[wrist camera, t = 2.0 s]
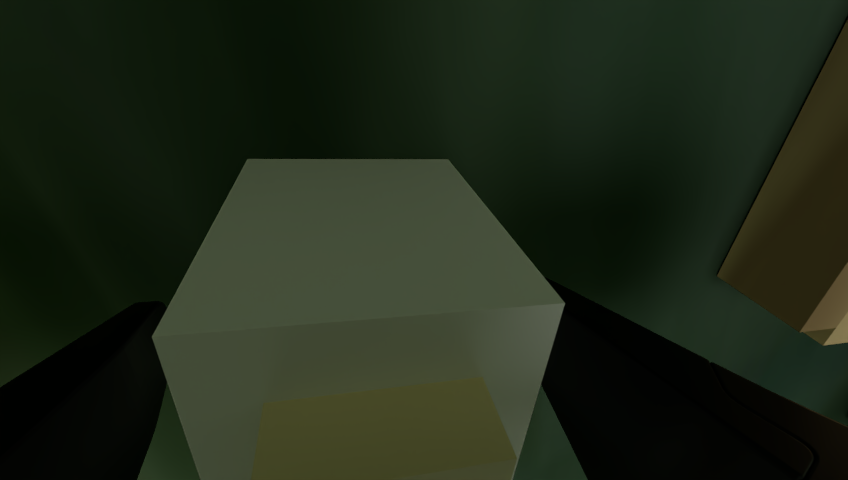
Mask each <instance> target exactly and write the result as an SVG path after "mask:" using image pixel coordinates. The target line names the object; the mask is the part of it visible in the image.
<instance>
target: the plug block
mask: <svg viewBox="0 0 848 480" xmlns="http://www.w3.org/2000/svg"><path fill="white" fill-rule="evenodd" d="M564 305H565V302H564V301H563V300H562V299H561V297H560V296H559V295H558V294H557V293H556V291H555V290H554V289H553V288H552V286H551V285H550V284H549V283H548V281H547V280H546V279H545V278H544V277H543V275H542V274H541V273H540V272H539V270H538V269H537V268H536V267H535V265H534V264H533V263H532V262H531V261H530V259H529V258H528V257H527V256H526V254H525V253H524V252H523V251H522V249H521V248H520V247H519V246H518V245H517V243H516V242H515V241H514V240H513V238H512V237H511V236H510V235H509V234H508V232H507V231H506V230H505V229H504V227H503V226H502V225H501V224H500V222H499V221H498V220H497V219H496V218H495V216H494V215H493V214H492V213H491V211H490V210H489V209H488V208H487V206H486V205H485V204H484V203H483V202H482V200H481V199H480V198H479V197H478V195H477V194H476V193H475V192H474V190H473V189H472V188H471V187H470V186H469V184H468V183H467V182H466V181H465V179H464V178H463V177H462V176H461V174H460V173H459V172H458V171H457V170H456V168H455V167H454V166H453V165H452V163H451V162H450V161H449V160H448V159H247V161H246V163H245V164H244V166H243V168H242V170H241V172H240V174H239V176H238V177H237V179H236V181H235V183H234V185H233V187H232V189H231V190H230V192H229V194H228V196H227V198H226V200H225V202H224V203H223V205H222V207H221V209H220V211H219V213H218V215H217V217H216V218H215V220H214V222H213V224H212V226H211V228H210V230H209V231H208V233H207V235H206V237H205V239H204V241H203V243H202V244H201V246H200V248H199V250H198V252H197V254H196V256H195V257H194V259H193V261H192V263H191V265H190V267H189V269H188V271H187V272H186V274H185V276H184V278H183V280H182V282H181V284H180V285H179V287H178V289H177V291H176V293H175V295H174V297H173V298H172V300H171V302H170V304H169V306H168V308H167V310H166V311H165V313H164V315H163V317H162V319H161V321H160V323H159V324H158V326H157V328H156V330H155V332H154V334H153V336H152V339H153V342H154V345H155V348H156V351H157V354H158V357H159V360H160V363H161V366H162V368H163V371H164V374H165V377H166V380H167V383H168V386H169V389H170V392H171V395H172V398H173V401H174V404H175V407H176V410H177V412H178V415H179V418H180V421H181V424H182V427H183V430H184V433H185V436H186V439H187V442H188V445H189V448H190V451H191V454H192V456H193V459H194V462H195V465H196V468H197V471H198V474H199V477H200V480H513V476H514V473H515V470H516V466H517V463H518V460H519V456H520V453H521V449H522V446H523V443H524V439H525V436H526V433H527V429H528V426H529V423H530V419H531V416H532V413H533V409H534V406H535V403H536V399H537V396H538V392H539V389H540V386H541V382H542V379H543V376H544V372H545V369H546V366H547V362H548V359H549V356H550V352H551V349H552V346H553V342H554V339H555V335H556V332H557V329H558V325H559V322H560V319H561V315H562V312H563V309H564Z"/></svg>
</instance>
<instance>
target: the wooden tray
mask: <svg viewBox="0 0 848 480" xmlns="http://www.w3.org/2000/svg"><path fill="white" fill-rule="evenodd" d="M717 276H718V277H719V278H721V279H722V280H723V281H725V282H726V283H728V284H729V285H731V286H732V287H734V288H735V289H737V290H738V291H740V292H741V293H743V294H744V295H746V296H747V297H748V298H750V299H751V300H753V301H754V302H756V303H757V304H759V305H760V306H762V307H763V308H765V309H766V310H768V311H769V312H770V313H772V314H773V315H775V316H776V317H778V318H779V319H781V320H782V321H784V322H785V323H787V324H788V325H790V326H791V327H792V328H794V329H795V330H797V331H798V332H804V333H805V334H807V335H808V336H810V337H811V338H813V339H814V340H815V341H817V342H818V343H820V344H821V345H823V346H824V345H832V344H840V343H847V342H848V20H847V22H846V23H845V25H844V27H843V29H842V31H841V33H840V35H839V37H838V39H837V41H836V43H835V45H834V47H833V49H832V51H831V53H830V55H829V57H828V59H827V61H826V63H825V65H824V67H823V69H822V71H821V73H820V75H819V77H818V78H817V80H816V82H815V84H814V86H813V88H812V90H811V92H810V94H809V96H808V98H807V100H806V102H805V104H804V106H803V108H802V110H801V112H800V114H799V116H798V118H797V120H796V122H795V124H794V126H793V128H792V130H791V132H790V133H789V135H788V137H787V139H786V141H785V143H784V145H783V147H782V149H781V151H780V153H779V155H778V157H777V159H776V161H775V163H774V165H773V167H772V169H771V171H770V173H769V175H768V177H767V179H766V181H765V183H764V185H763V187H762V188H761V190H760V192H759V194H758V196H757V198H756V200H755V202H754V204H753V206H752V208H751V210H750V212H749V214H748V216H747V218H746V220H745V222H744V224H743V226H742V228H741V230H740V232H739V234H738V236H737V238H736V240H735V242H734V243H733V245H732V247H731V249H730V251H729V253H728V255H727V257H726V259H725V261H724V263H723V265H722V267H721V269H720V271H719V273H718V275H717Z"/></svg>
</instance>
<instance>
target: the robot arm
mask: <svg viewBox="0 0 848 480" xmlns="http://www.w3.org/2000/svg"><path fill="white" fill-rule="evenodd" d="M543 277H544V276H543ZM544 278H545V279H546V280H547V281H548V283H549V284H550V285H551V286H552V288H553V289H554V290H555V291H556V293H557V294H558V295H559V296H560V297H561V299H562V300H563V301H564V302H565V305H564V309H563V312H562V315H561V319H560V322H559V325H558V329H557V332H556V335H555V339H554V342H553V346H552V349H551V352H550V356H549V359H548V362H547V366H546V369H545V372H544V376H543V379H542V382H541V384H542V387H543V389H544V391H545V393H546V395H547V397H548V399H549V401H550V403H551V405H552V407H553V409H554V411H555V413H556V415H557V418H558V420H559V422H560V424H561V426H562V428H563V430H564V432H565V434H566V436H567V438H568V440H569V442H570V444H571V446H572V448H573V450H574V452H575V454H576V456H577V458H578V460H579V463H580V465H581V467H582V469H583V471H584V473H585V475H586V477H587V479H588V480H848V426H845V425H843V424H841V423H839V422H837V421H834V420H832V419H830V418H828V417H826V416H823V415H821V414H819V413H817V412H815V411H812V410H810V409H808V408H806V407H804V406H802V405H799V404H797V403H795V402H793V401H791V400H789V399H786V398H784V397H782V396H780V395H778V394H776V393H773V392H771V391H769V390H767V389H765V388H763V387H761V386H759V385H757V384H755V383H753V382H751V381H749V380H747V379H745V378H743V377H741V376H739V375H737V374H735V373H733V372H731V371H729V370H727V369H725V368H723V367H721V366H719V365H717V364H715V363H713V362H711V363H709V361H708V360H707V359H705V358H703V357H701V356H699V355H697V354H695V353H693V352H691V351H689V350H688V349H686V348H684V347H682V346H680V345H678V344H676V343H674V342H672V341H670V340H668V339H666V338H664V337H662V336H660V335H658V334H656V333H654V332H652V331H650V330H648V329H646V328H644V327H642V326H640V325H638V324H636V323H634V322H632V321H630V320H629V319H627V318H625V317H623V316H621V315H619V314H617V313H615V312H613V311H611V310H609V309H607V308H605V307H603V306H601V305H599V304H597V303H595V302H593V301H591V300H589V299H587V298H585V297H583V296H581V295H579V294H577V293H575V292H574V291H572V290H570V289H568V288H566V287H564V286H562V285H560V284H558V283H556V282H554V281H552V280H550V279H548V278H546V277H544ZM166 310H167V308H166V306H165V305H164V303H162V302H160V301H151V302H138V303H135V304H133V305H131V306H129V307H128V308H126V309H125V310H123V311H121V312H120V313H118V314H117V315H115V316H113V317H112V318H110V319H109V320H107V321H105V322H104V323H102V324H101V325H99V326H97V327H96V328H94V329H93V330H91V331H90V332H88V333H86V334H85V335H83V336H82V337H80V338H78V339H77V340H75V341H74V342H72V343H70V344H69V345H67V346H66V347H64V348H62V349H61V350H59V351H58V352H56V353H54V354H53V355H51V356H50V357H48V358H46V359H45V360H43V361H42V362H40V363H38V364H37V365H35V366H34V367H32V368H30V369H29V370H27V371H26V372H24V373H22V374H21V375H19V376H18V377H16V378H14V379H13V380H11V381H10V382H8V383H6V384H5V385H3V386H2V387H0V480H137V478H138V475H139V473H140V470H141V467H142V464H143V462H144V459H145V456H146V454H147V451H148V448H149V445H150V443H151V440H152V437H153V434H154V431H155V428H156V424H157V421H158V417H159V413H160V409H161V405H162V401H163V397H164V392H165V388H166V384H167V380H166V377H165V374H164V371H163V368H162V366H161V363H160V360H159V357H158V354H157V351H156V348H155V345H154V342H153V339H152V336H153V334H154V332H155V330H156V328H157V326H158V324H159V323H160V321H161V319H162V317H163V315H164V313H165V311H166Z"/></svg>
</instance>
